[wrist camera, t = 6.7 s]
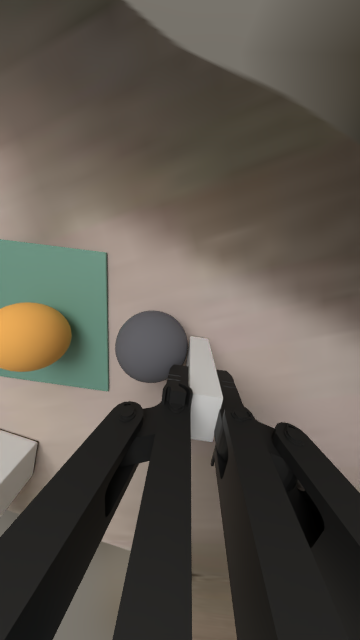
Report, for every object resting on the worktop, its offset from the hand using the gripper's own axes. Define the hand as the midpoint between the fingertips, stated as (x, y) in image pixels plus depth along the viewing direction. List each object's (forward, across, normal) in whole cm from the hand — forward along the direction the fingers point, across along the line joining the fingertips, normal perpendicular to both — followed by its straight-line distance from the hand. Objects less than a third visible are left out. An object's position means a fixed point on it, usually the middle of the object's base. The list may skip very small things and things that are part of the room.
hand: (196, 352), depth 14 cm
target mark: (+2, +16, 0) cm, 16 cm away
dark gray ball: (-1, +4, 0) cm, 4 cm away
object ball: (-1, +14, 0) cm, 14 cm away
